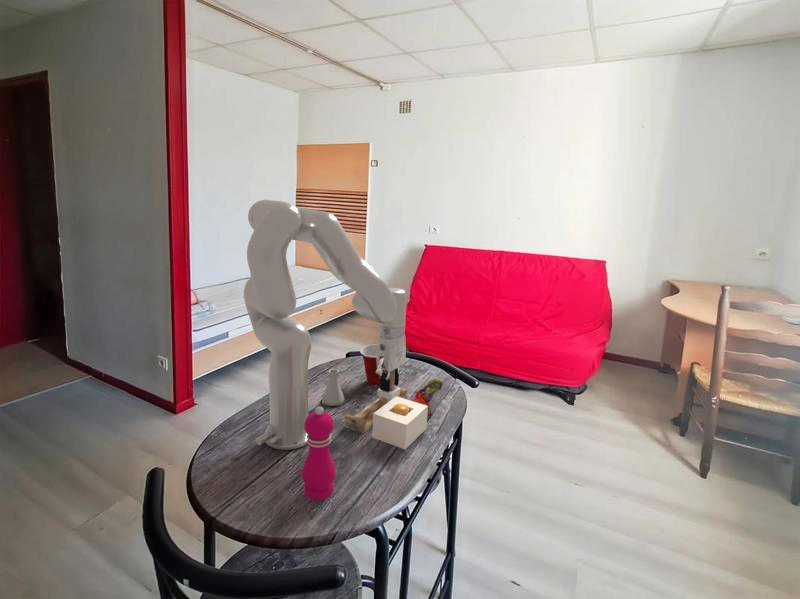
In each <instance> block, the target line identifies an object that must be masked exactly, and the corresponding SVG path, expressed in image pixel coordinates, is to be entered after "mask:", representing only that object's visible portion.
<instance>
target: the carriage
mask: <svg viewBox="0 0 800 599" xmlns="http://www.w3.org/2000/svg"><path fill="white" fill-rule="evenodd" d="M386 373H387V371H385V374H386ZM389 379H390V391H389V392H386V391H383V390H380V388H378V389H377V395H376V396H377V397H378V399H379V400H380V399H381V398H386V399H388V401H387V403H388V402H389V401H391V400H392V399H393V398H395V397H396V396H397V397H398V395H399V394H400V388H401V387H400V388H398V387H399V386H397V387H395V385H394V380H395V370H393V371H391V372H390V376H389Z"/></svg>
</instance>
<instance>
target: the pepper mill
mask: <svg viewBox="0 0 800 599" xmlns="http://www.w3.org/2000/svg"><path fill="white" fill-rule="evenodd" d="M334 421H335V420H334V418H333V417H332V416H331V414H329V413H328V412H326V411H324V407H322V406H321V405H320V406H317V407H315V409H314V412H312V413H310V414H308V417H307V419H306V421H305V426H304V427H305V431H306V433H307V434H308V435H307V443H308V448H309V449H308V455H307V457H306V460H305V461H304V464H303V466H302V471H301V479H302V481H303V483H304V484H303V493H304V495H305V497H306V498H307V499H309V500H312V501H323V500H326V499H328V498H329V497H331V496H332V495H333V493H334V490H335V489H334V484H335V483H334V481H335V479H336V477H337V476H336V475H337V468H336V465H335V461H334V460H333V457H332V455H331V453H330V444H331V442H332V433H333V431H334V428H335V423H334Z"/></svg>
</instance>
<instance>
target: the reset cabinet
mask: <svg viewBox="0 0 800 599" xmlns="http://www.w3.org/2000/svg"><path fill="white" fill-rule="evenodd" d="M396 404H405V405H407V406H408V407H409V413H408V414H407V415H406V416H402V415H399V414H396V413H394V406H395V405H396ZM428 411H429V405H428V406H426V405H423V404H420V403H417V402H413V401H411V400H410V399H407V398H406V399H404V398H401V397H397V396H396V397H395V398H393V399H392V400H391V401H389V402H388V403H387V404H385V405H384V406H383V407H381V408H380V409H379V410H377V411H376V412H375V413H373V426H372V434H371V435H372V438H373V439H375V440H379V441H381V442H384V443H387V444H389V445H391V446H395V447H397V448H399V449H402V450H406V449H407V448H409V447H410V446H411V444H413V442H415V441H416V440H417V439H418V438H419V437H420V436H421V435H422V434H424V433H423V432H425V431H426V430H427V425H428V424H427V423H428Z"/></svg>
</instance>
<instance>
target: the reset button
mask: <svg viewBox="0 0 800 599" xmlns="http://www.w3.org/2000/svg"><path fill="white" fill-rule="evenodd" d="M394 413H396V414H399V415H402V416H406V415H407V414H408V413H409V407H408V406H407V405H405V404H396V405H395V406H394Z"/></svg>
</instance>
